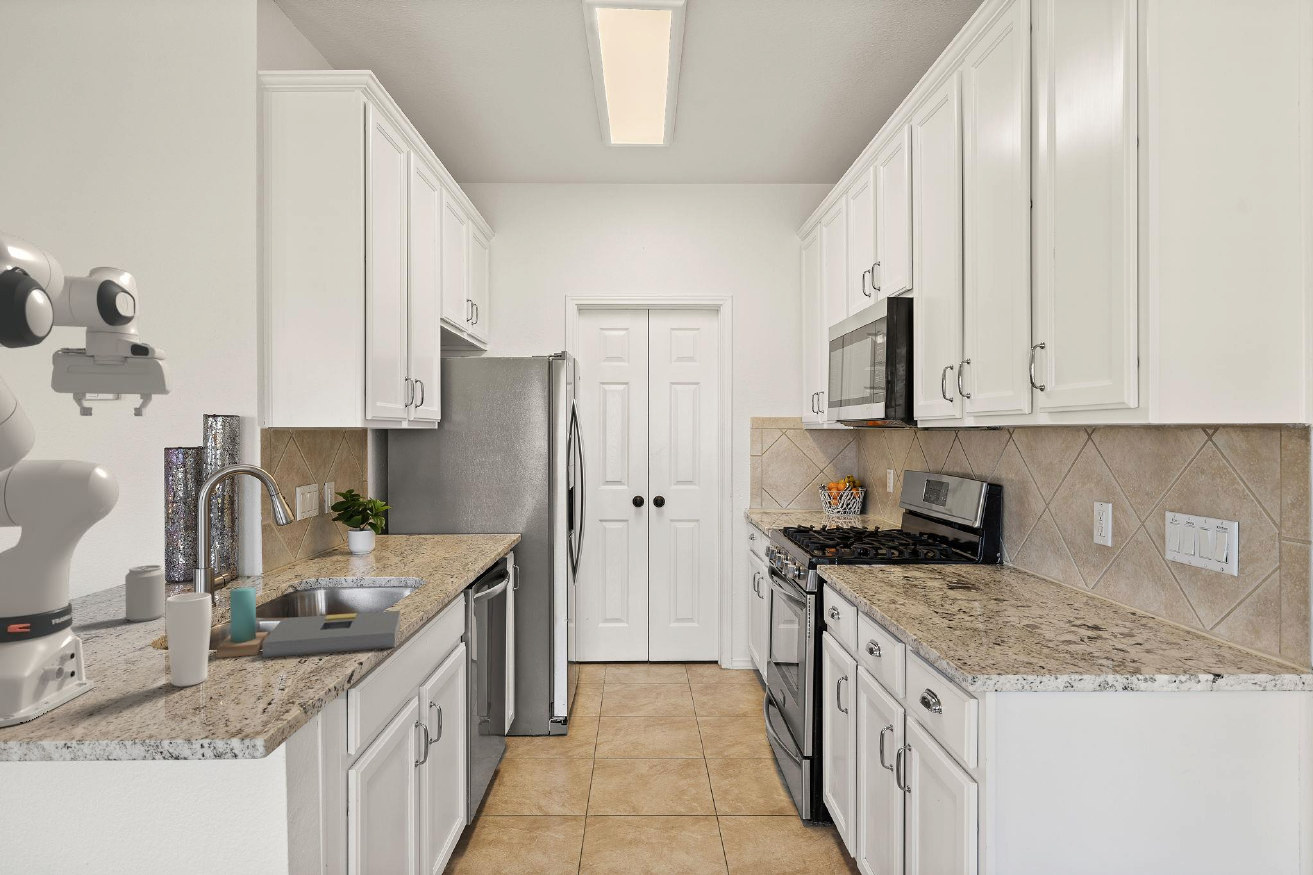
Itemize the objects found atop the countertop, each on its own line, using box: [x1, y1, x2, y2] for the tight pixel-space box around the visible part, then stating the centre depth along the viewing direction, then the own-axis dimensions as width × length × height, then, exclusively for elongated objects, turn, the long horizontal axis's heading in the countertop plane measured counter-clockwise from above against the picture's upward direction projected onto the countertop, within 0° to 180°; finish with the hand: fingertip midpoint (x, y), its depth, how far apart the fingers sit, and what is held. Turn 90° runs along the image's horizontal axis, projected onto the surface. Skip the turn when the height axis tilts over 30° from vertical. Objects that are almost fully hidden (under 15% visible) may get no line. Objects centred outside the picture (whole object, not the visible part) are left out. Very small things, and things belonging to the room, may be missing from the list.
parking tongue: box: [216, 631, 269, 659], centre depth 143 cm, size 9×7×2 cm
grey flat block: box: [262, 610, 401, 659], centre depth 149 cm, size 18×24×3 cm
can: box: [124, 564, 166, 623], centre depth 165 cm, size 8×8×12 cm
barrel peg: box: [229, 586, 257, 643], centre depth 143 cm, size 4×4×10 cm
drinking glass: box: [164, 592, 213, 688], centre depth 124 cm, size 7×7×15 cm
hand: (113, 416), depth 147 cm, fingers open, 8 cm apart
